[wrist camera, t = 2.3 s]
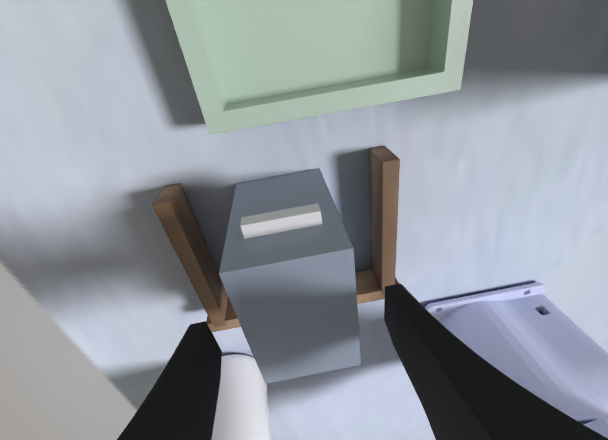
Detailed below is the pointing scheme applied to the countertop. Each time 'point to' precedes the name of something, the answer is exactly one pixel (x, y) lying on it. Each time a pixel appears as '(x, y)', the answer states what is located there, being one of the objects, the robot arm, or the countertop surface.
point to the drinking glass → (241, 401)
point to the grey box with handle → (292, 276)
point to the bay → (206, 277)
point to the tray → (316, 55)
